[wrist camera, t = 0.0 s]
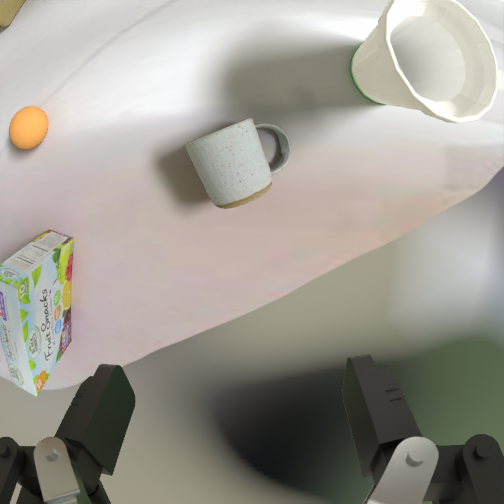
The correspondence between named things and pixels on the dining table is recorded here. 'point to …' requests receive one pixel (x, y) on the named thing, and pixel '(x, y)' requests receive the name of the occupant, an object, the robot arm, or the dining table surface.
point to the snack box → (36, 308)
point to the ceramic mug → (236, 163)
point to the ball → (28, 127)
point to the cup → (428, 61)
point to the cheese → (9, 11)
